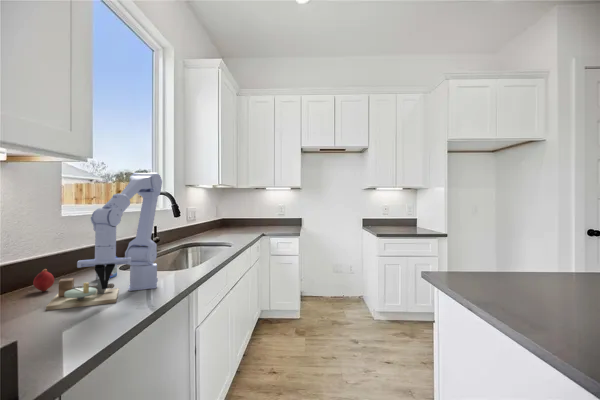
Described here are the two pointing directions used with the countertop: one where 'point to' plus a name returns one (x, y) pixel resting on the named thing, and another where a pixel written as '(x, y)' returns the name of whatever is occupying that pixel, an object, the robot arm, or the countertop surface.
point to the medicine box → (113, 274)
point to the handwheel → (80, 292)
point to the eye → (100, 288)
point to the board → (84, 300)
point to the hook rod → (72, 286)
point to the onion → (43, 280)
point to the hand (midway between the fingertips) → (104, 288)
